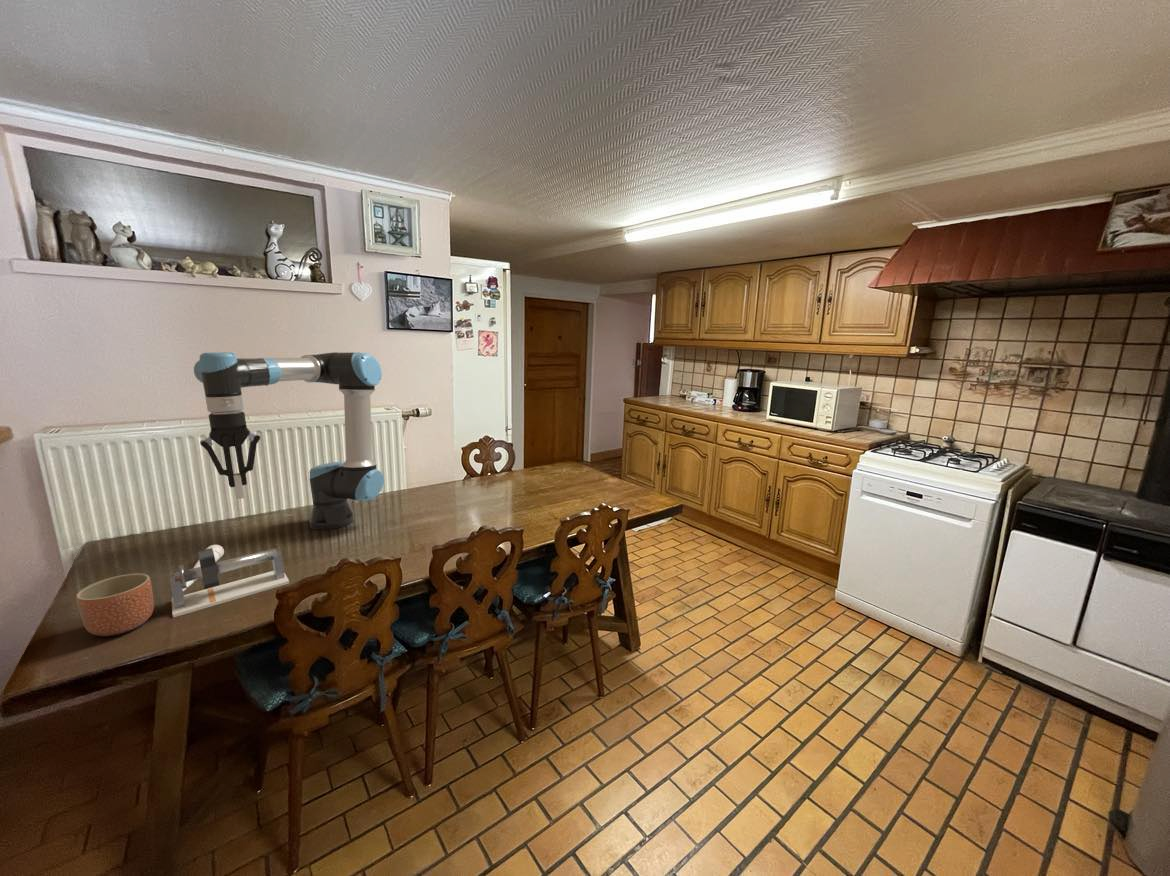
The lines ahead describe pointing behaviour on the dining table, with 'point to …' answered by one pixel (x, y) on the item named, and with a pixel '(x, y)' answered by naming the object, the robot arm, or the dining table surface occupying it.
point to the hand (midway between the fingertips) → (240, 497)
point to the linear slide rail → (192, 574)
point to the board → (228, 592)
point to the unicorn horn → (218, 554)
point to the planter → (116, 604)
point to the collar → (208, 568)
